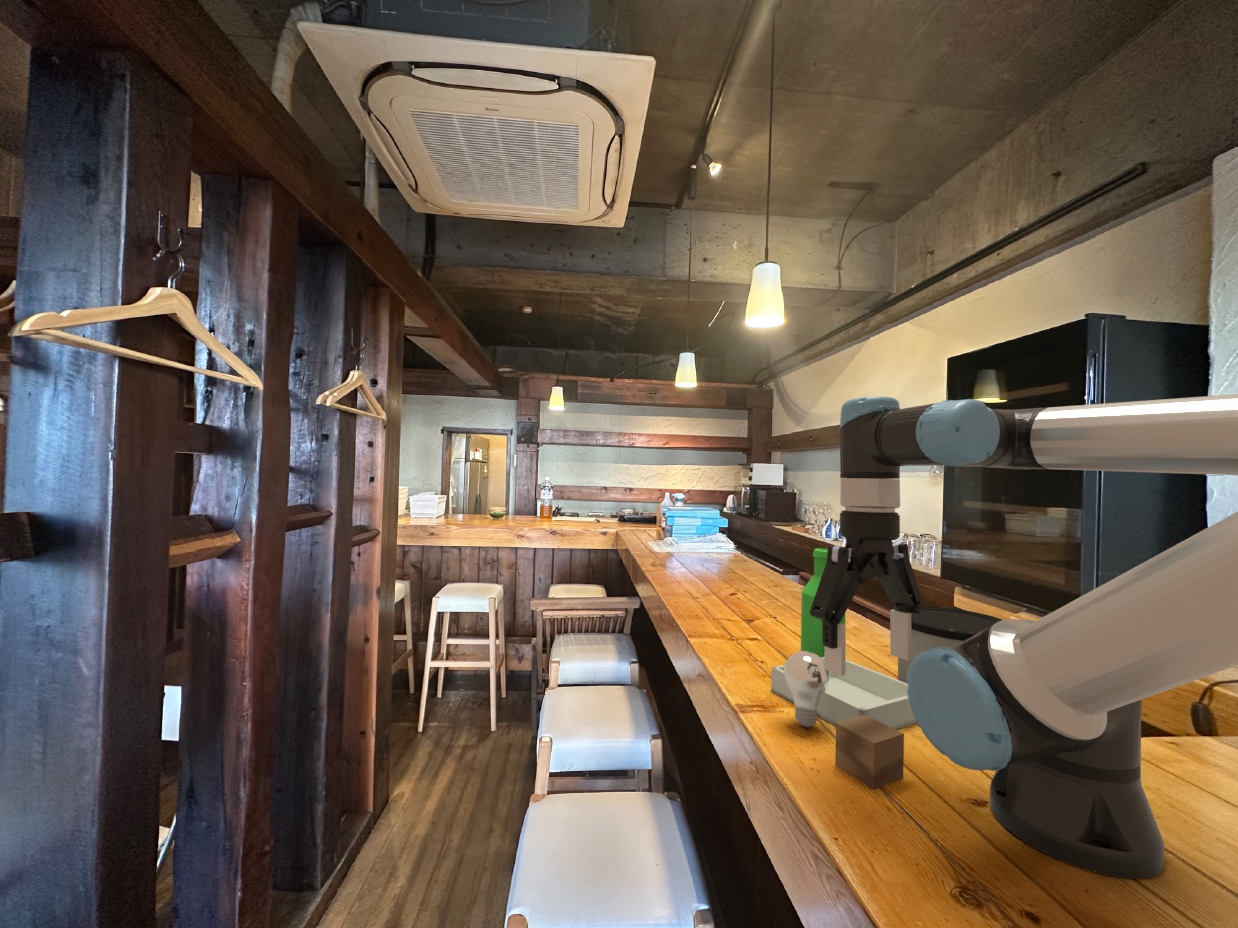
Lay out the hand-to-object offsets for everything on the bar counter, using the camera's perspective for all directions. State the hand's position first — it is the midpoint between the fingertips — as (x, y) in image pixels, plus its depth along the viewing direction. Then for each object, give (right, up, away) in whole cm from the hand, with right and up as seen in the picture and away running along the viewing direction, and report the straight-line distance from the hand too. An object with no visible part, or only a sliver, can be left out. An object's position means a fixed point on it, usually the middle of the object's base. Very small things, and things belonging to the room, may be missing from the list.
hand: (869, 664), depth 72 cm
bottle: (+9, -16, +39) cm, 43 cm away
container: (+27, -16, +24) cm, 39 cm away
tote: (+6, -15, +21) cm, 26 cm away
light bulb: (-4, -15, +12) cm, 20 cm away
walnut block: (0, -15, 0) cm, 15 cm away
